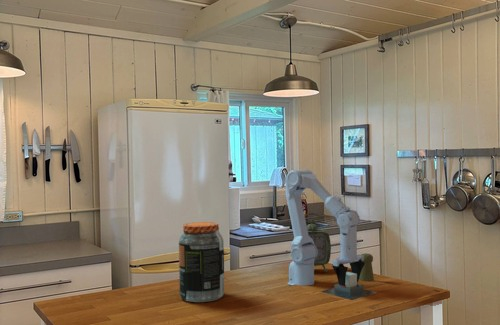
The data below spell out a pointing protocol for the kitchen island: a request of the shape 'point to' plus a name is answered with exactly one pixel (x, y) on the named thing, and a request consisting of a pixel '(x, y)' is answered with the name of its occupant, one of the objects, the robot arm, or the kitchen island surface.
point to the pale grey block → (351, 279)
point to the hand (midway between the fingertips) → (348, 283)
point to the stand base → (349, 291)
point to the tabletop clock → (319, 242)
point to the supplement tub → (201, 262)
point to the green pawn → (367, 268)
